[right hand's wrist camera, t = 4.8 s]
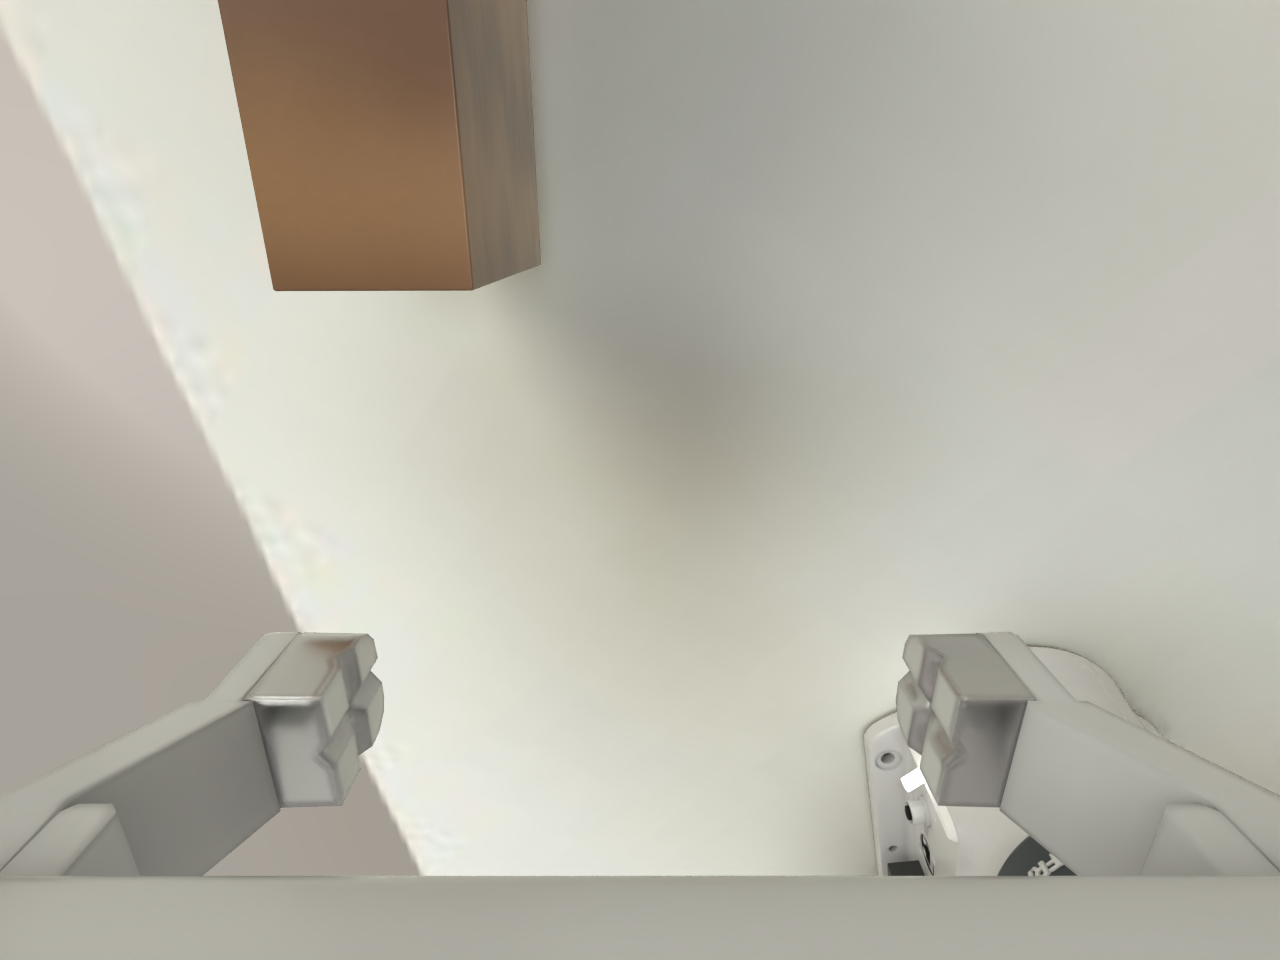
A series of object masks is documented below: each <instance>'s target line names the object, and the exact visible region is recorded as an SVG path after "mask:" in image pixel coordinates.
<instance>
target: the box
mask: <svg viewBox="0 0 1280 960" xmlns="http://www.w3.org/2000/svg"><path fill="white" fill-rule="evenodd" d="M218 3H219V8H220V14H221V19H222V24H223V29H224V34H225V40H226V45H227V50H228V55H229V60H230V66H231V71H232V76H233V81H234V86H235V92H236V97H237V102H238V107H239V113H240V118H241V123H242V128H243V133H244V139H245V144H246V149H247V154H248V159H249V165H250V170H251V175H252V180H253V185H254V191H255V196H256V201H257V206H258V211H259V217H260V222H261V227H262V232H263V237H264V243H265V248H266V253H267V258H268V263H269V269H270V274H271V279H272V284H273V289H274V290H275V291H455V290H474V289H477V288H480V287H482V286H485V285H488V284H490V283H493V282H495V281H498V280H501V279H503V278H506V277H509V276H511V275H514V274H517V273H519V272H522V271H524V270H527V269H530V268H532V267H535V266H538V265H540V264H541V258H540V240H539V221H538V203H537V185H536V167H535V148H534V130H533V112H532V94H531V76H530V57H529V39H528V21H527V3H526V0H218Z"/></svg>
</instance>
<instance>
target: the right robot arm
mask: <svg viewBox="0 0 1280 960" xmlns="http://www.w3.org/2000/svg"><path fill="white" fill-rule="evenodd" d="M377 658H378V657H377V652H376V648H375V643H374V639H373V638H372V637H371V636H370V635H369V634H352V633H300V632H272V633H268V634H265V635H262V637H261V638H260V639H259V640H258V641H257V642H256V643H255V644H254V645H253V647H251V649H250V650H249V651H248V652H247V653H246V654H245V655H244V656H243V657H242V659H241V660H240V661H239V662H238V663H237V664H236V665H235V666H234V668H233V669H232V670H231V671H230V672H229V673H228V674H227V675H226V676H225V677H224V678H223V680H222V681H221V682H220V683H219V684H218V685H217V686H216V687H215V688H214V690H213V691H212V692H211V693H210V694H209V695H208V696H207V697H206V698H205V700H204V701H191V702H189V703H187V704H185V705H183V706H181V707H179V708H177V709H175V710H173V711H171V712H169V713H167V714H165V715H163V716H161V717H159V718H157V719H155V720H153V721H151V722H149V723H147V724H145V725H143V726H141V727H139V728H137V729H135V730H132V731H130V732H129V733H126V734H124V735H122V736H120V737H118V738H116V739H114V740H112V741H110V742H108V743H106V744H104V745H102V746H100V747H98V748H96V749H94V750H92V751H90V752H88V753H86V754H84V755H82V756H80V757H78V758H76V759H74V760H72V761H70V762H68V763H66V764H64V765H62V766H60V767H58V768H56V769H54V770H52V771H50V772H47V773H46V774H43V775H41V776H39V777H37V778H35V779H33V780H31V781H29V782H27V783H25V784H23V785H21V786H19V787H17V788H15V789H13V790H11V791H9V792H7V793H5V794H3V795H1V796H0V960H1280V796H1279V795H1277V794H1275V793H1273V792H1271V791H1268V790H1266V789H1264V788H1262V787H1260V786H1258V785H1256V784H1254V783H1252V782H1250V781H1248V780H1246V779H1244V778H1242V777H1240V776H1238V775H1236V774H1234V773H1232V772H1230V771H1228V770H1226V769H1224V768H1222V767H1220V766H1218V765H1216V764H1214V763H1212V762H1210V761H1208V760H1206V759H1204V758H1202V757H1200V756H1198V755H1196V754H1194V753H1192V752H1190V751H1188V750H1186V749H1184V748H1182V747H1180V746H1178V745H1176V744H1174V743H1172V742H1170V741H1168V740H1166V739H1164V738H1163V737H1162V735H1161V734H1160V733H1159V732H1158V730H1157V729H1156V728H1155V727H1154V726H1153V725H1152V724H1150V723H1149V722H1148V721H1146V720H1145V719H1143V718H1142V717H1140V716H1139V715H1137V714H1135V713H1134V712H1133V711H1132V709H1131V708H1130V706H1129V705H1128V703H1127V701H1126V700H1125V698H1124V696H1123V695H1122V693H1121V691H1120V690H1119V688H1118V686H1117V685H1116V683H1115V682H1114V681H1113V679H1112V678H1111V677H1110V676H1109V675H1108V674H1107V673H1106V672H1105V671H1104V670H1103V669H1102V668H1100V667H1099V666H1098V665H1096V664H1095V663H1093V662H1092V661H1090V660H1088V659H1086V658H1084V657H1082V656H1080V655H1077V654H1074V653H1071V652H1068V651H1064V650H1060V649H1055V648H1048V647H1028V646H1027V645H1026V644H1025V643H1024V642H1023V641H1022V640H1021V639H1020V638H1019V636H1017V635H1015V634H1013V633H1011V632H991V633H976V634H925V635H909V637H908V639H907V641H906V643H905V646H904V652H903V657H902V658H903V660H904V661H905V663H906V665H907V667H908V668H909V670H910V671H909V672H908V673H907V674H906V675H905V676H904V677H903V678H902V679H901V680H900V681H899V682H898V688H897V695H896V709H897V712H895V713H893V714H890V715H888V716H886V717H884V718H882V719H880V720H878V721H877V722H875V723H873V724H872V725H871V726H870V727H869V728H868V729H867V730H866V732H865V734H864V748H865V757H866V767H867V776H868V786H869V795H870V805H871V814H872V824H873V833H874V843H875V852H876V862H877V871H878V876H203V875H204V874H205V873H206V872H208V871H209V870H210V869H211V868H212V867H214V866H215V865H216V864H217V863H218V862H220V861H221V860H222V859H223V858H224V857H226V856H227V855H228V854H229V853H230V852H232V851H233V850H234V849H235V848H236V847H238V846H239V845H240V844H241V843H242V842H244V841H245V840H246V839H247V838H248V837H250V836H251V835H252V834H253V833H254V832H256V831H257V830H258V829H259V828H260V827H262V826H263V825H264V824H265V823H266V822H268V821H269V820H270V819H271V818H272V817H274V816H275V815H276V814H277V813H278V812H280V808H283V807H317V806H342V805H343V803H344V801H345V799H346V797H347V795H348V793H349V791H350V789H351V787H352V785H353V783H354V781H355V779H356V777H357V775H358V773H359V771H360V770H361V768H360V762H359V757H358V756H359V755H360V754H361V753H363V752H364V751H366V750H367V749H369V748H370V747H371V746H373V744H374V741H375V739H376V737H377V735H378V733H379V731H380V726H381V722H382V717H383V713H384V693H383V687H382V682H381V681H380V680H379V679H378V678H377V677H376V676H375V675H374V674H373V673H372V672H371V671H370V670H371V668H372V667H373V665H374V663H375V661H376V660H377ZM886 753H889V754H888V755H884V754H886Z"/></svg>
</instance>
